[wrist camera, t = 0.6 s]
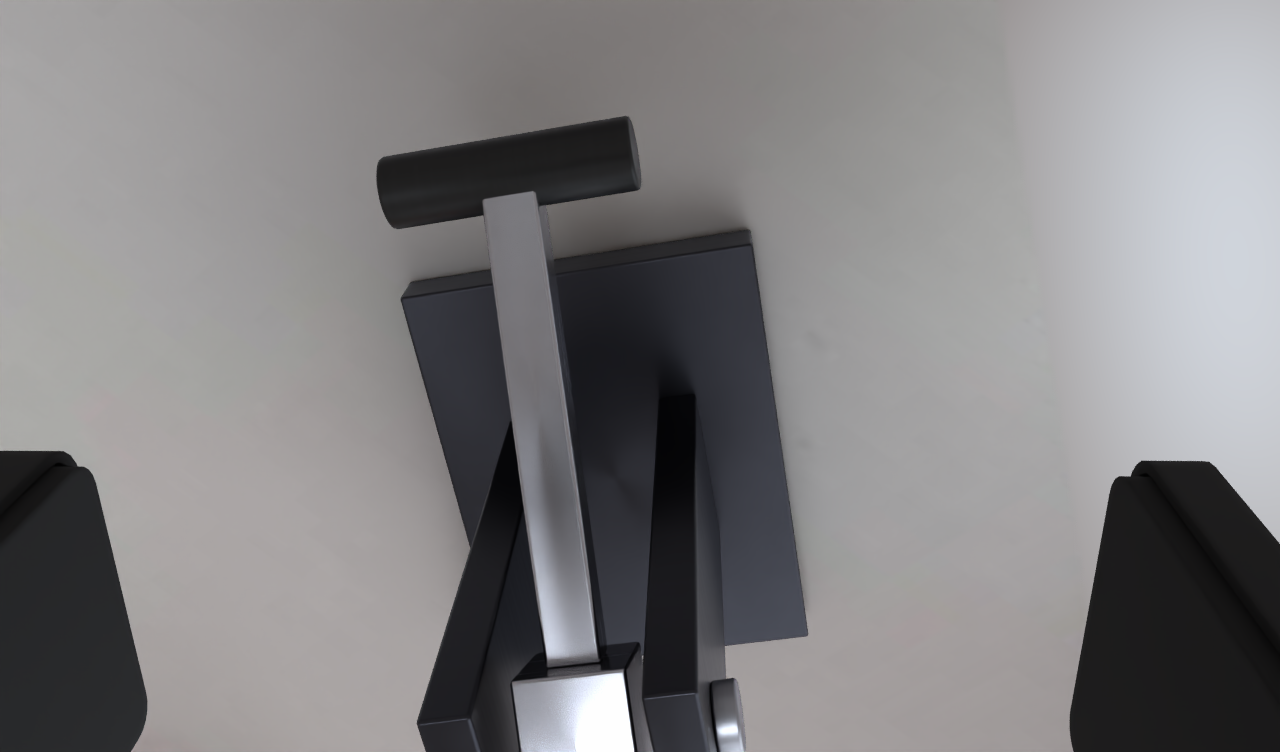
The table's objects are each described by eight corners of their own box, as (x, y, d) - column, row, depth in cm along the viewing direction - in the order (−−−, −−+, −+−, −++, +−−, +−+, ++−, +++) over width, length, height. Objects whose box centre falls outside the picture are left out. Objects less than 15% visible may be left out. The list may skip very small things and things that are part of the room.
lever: (402, 169, 24) (362, 145, 22) (637, 130, 24) (622, 101, 21) (487, 796, 24) (455, 840, 22) (727, 770, 23) (722, 814, 21)
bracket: (409, 281, 30) (236, 555, 19) (750, 228, 29) (788, 483, 18) (510, 646, 35) (422, 1042, 24) (805, 611, 34) (862, 1006, 23)
